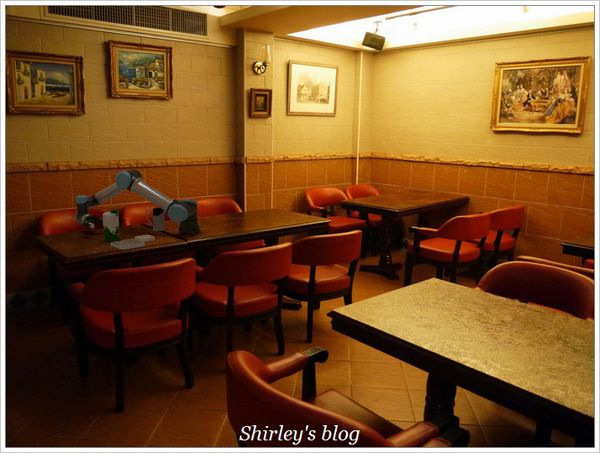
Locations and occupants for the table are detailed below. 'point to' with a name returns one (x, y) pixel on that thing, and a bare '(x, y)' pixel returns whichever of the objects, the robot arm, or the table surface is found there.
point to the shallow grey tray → (127, 244)
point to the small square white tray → (144, 238)
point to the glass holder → (157, 219)
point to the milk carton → (111, 226)
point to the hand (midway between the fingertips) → (103, 224)
